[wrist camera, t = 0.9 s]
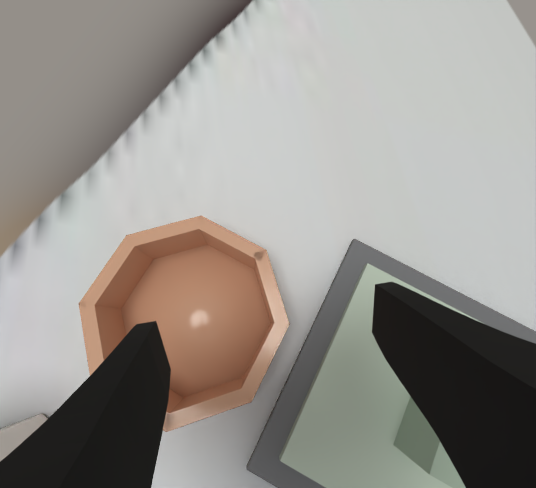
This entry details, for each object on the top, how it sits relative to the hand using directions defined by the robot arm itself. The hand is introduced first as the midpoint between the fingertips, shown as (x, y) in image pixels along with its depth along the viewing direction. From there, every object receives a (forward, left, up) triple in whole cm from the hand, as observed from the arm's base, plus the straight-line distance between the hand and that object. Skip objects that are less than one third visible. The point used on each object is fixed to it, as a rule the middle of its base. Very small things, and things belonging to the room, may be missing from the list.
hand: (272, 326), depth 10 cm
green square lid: (-12, -1, -12) cm, 17 cm away
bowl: (+4, +1, -12) cm, 13 cm away
